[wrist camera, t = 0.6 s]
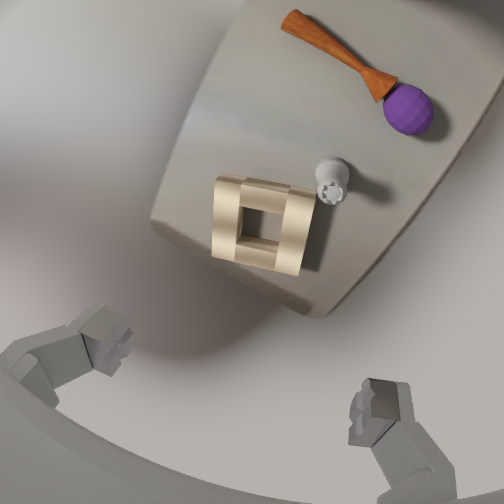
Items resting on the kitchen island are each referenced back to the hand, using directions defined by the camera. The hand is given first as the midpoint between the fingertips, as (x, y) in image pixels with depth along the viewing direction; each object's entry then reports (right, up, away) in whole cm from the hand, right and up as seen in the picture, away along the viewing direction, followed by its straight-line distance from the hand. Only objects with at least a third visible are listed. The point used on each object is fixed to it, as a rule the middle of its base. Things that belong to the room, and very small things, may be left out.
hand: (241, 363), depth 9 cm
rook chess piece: (+11, +14, +28) cm, 33 cm away
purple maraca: (+13, +25, +20) cm, 35 cm away
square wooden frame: (+2, +8, +34) cm, 35 cm away
